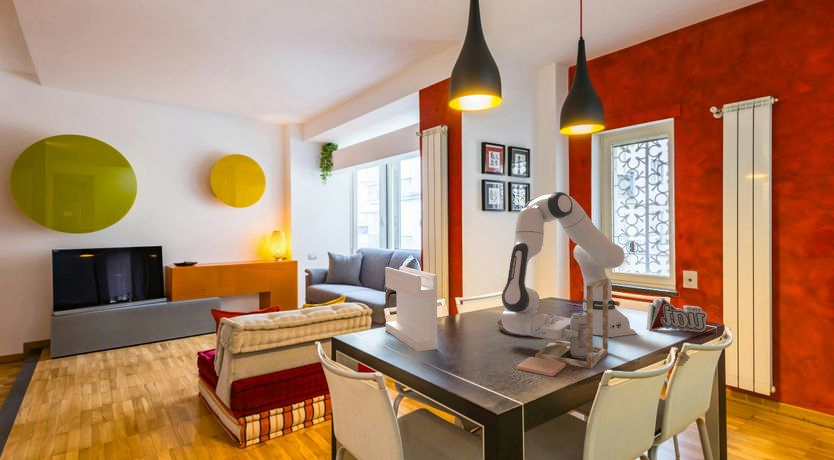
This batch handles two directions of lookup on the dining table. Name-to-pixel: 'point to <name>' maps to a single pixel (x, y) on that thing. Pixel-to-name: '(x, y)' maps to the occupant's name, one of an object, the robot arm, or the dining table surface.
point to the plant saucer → (506, 330)
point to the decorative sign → (675, 317)
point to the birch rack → (588, 331)
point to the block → (414, 307)
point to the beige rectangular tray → (555, 349)
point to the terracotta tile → (541, 366)
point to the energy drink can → (580, 342)
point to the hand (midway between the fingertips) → (581, 331)
